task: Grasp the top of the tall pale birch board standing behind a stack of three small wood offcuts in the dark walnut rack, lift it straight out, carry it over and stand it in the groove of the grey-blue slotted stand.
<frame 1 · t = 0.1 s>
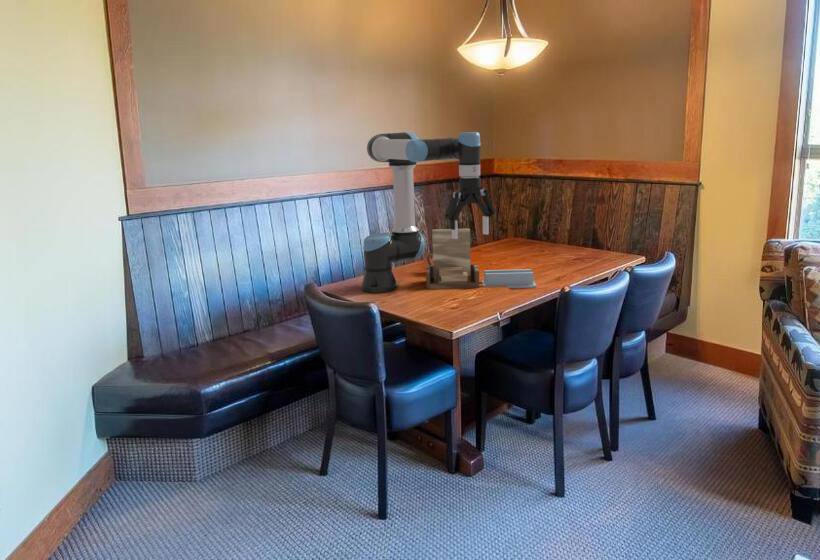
hand: (470, 236, 222), 28 cm above the table, fingers open, 13 cm apart
mug: (439, 275, 284), on the table
offcut mid: (454, 279, 260), point 3 cm above the table, touching offcut low, offcut top
birch board: (452, 281, 266), point 1 cm above the table, touching rack
offcut top: (450, 274, 259), point 6 cm above the table, touching offcut mid
offcut low: (452, 285, 260), point 1 cm above the table, touching offcut mid, rack
rack: (452, 286, 263), on the table
slotted stand: (508, 285, 261), on the table
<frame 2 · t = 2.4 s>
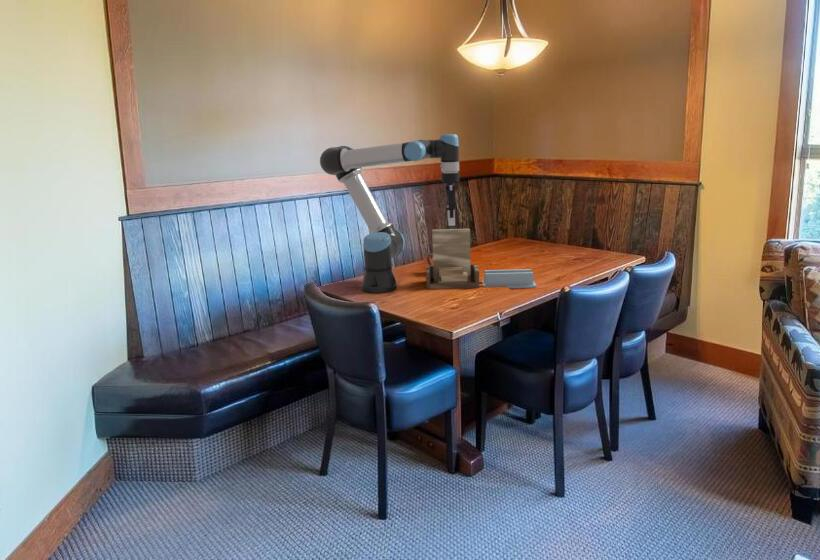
hand: (451, 223, 260), 27 cm above the table, fingers open, 13 cm apart
nothing on the table moved.
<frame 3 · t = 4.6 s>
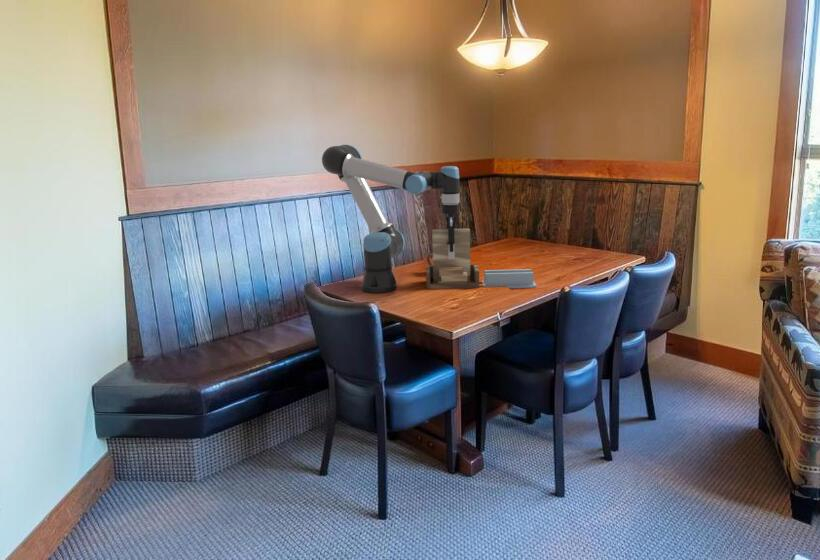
hand: (451, 258, 264), 12 cm above the table, fingers closed on birch board, 2 cm apart
birch board: (451, 281, 267), point 1 cm above the table, touching gripper
everything else where it was.
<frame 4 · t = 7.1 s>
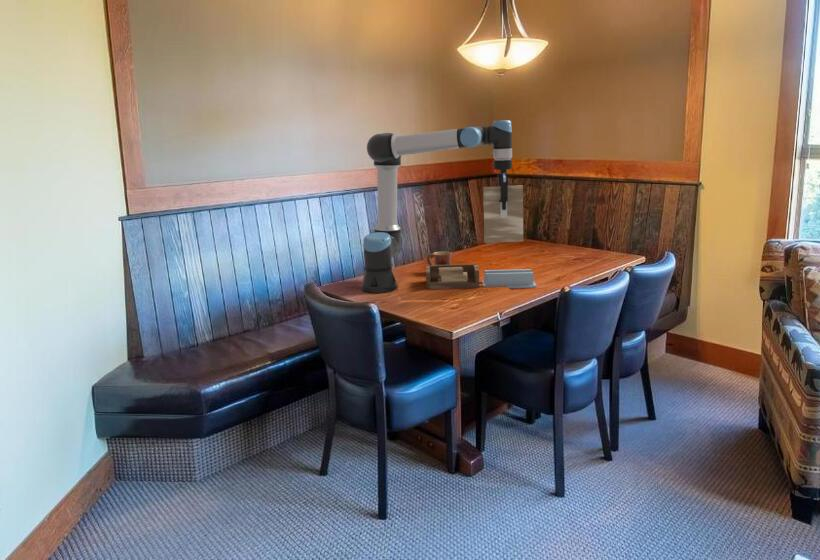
hand: (503, 216, 255), 29 cm above the table, fingers closed on birch board, 2 cm apart
birch board: (503, 241, 257), point 19 cm above the table, touching gripper
everything else where it was.
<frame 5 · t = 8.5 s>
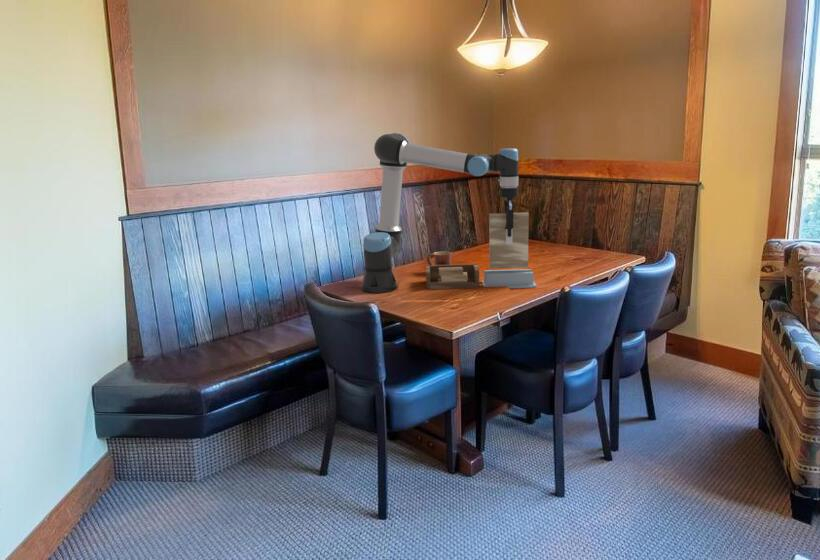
hand: (508, 243, 257), 18 cm above the table, fingers closed on birch board, 2 cm apart
birch board: (508, 267, 259), point 8 cm above the table, touching gripper
everything else where it was.
when the fingers open (13 cm above the table, at t = 9.7 s): birch board drops 2 cm, resting on slotted stand.
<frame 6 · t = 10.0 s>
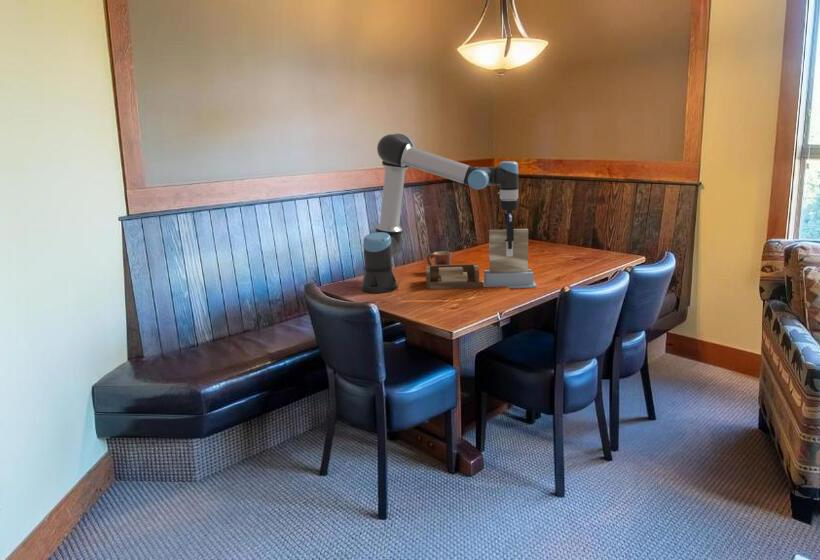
hand: (508, 254, 258), 13 cm above the table, fingers open, 6 cm apart
birch board: (508, 283, 261), point 1 cm above the table, touching slotted stand
everything else where it was.
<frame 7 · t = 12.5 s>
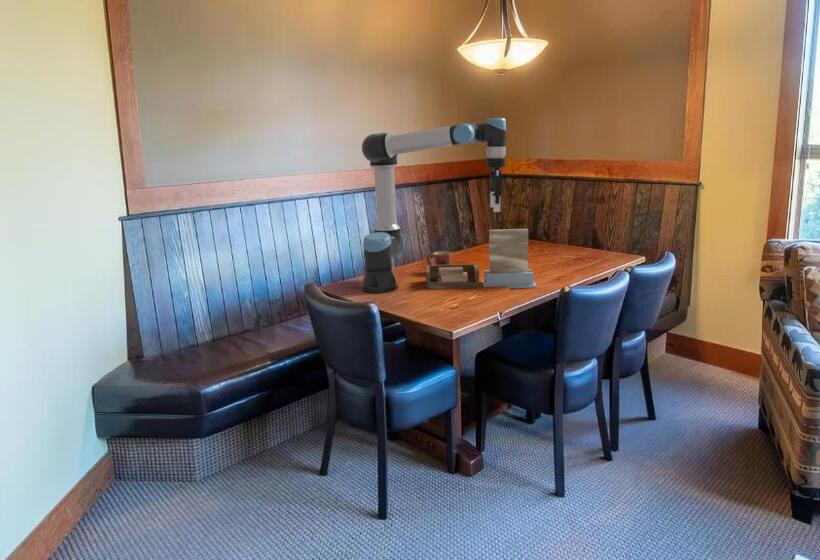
hand: (495, 209, 254), 33 cm above the table, fingers open, 13 cm apart
nothing on the table moved.
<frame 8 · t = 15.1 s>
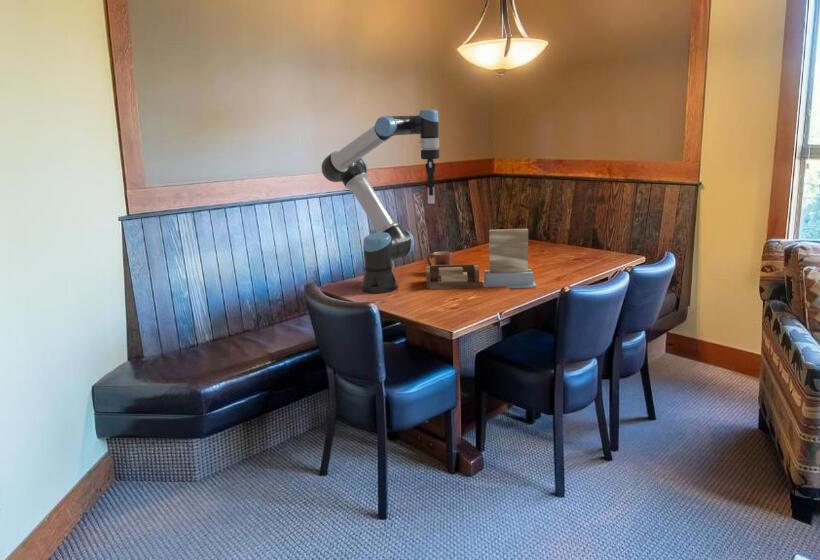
hand: (431, 201, 254), 37 cm above the table, fingers open, 13 cm apart
nothing on the table moved.
at the end: birch board inside the target area on the slotted stand (0.0 cm from its centre), point 1.0 cm above the slotted stand's base; birch board tilted 0°; the gripper is holding nothing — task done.
